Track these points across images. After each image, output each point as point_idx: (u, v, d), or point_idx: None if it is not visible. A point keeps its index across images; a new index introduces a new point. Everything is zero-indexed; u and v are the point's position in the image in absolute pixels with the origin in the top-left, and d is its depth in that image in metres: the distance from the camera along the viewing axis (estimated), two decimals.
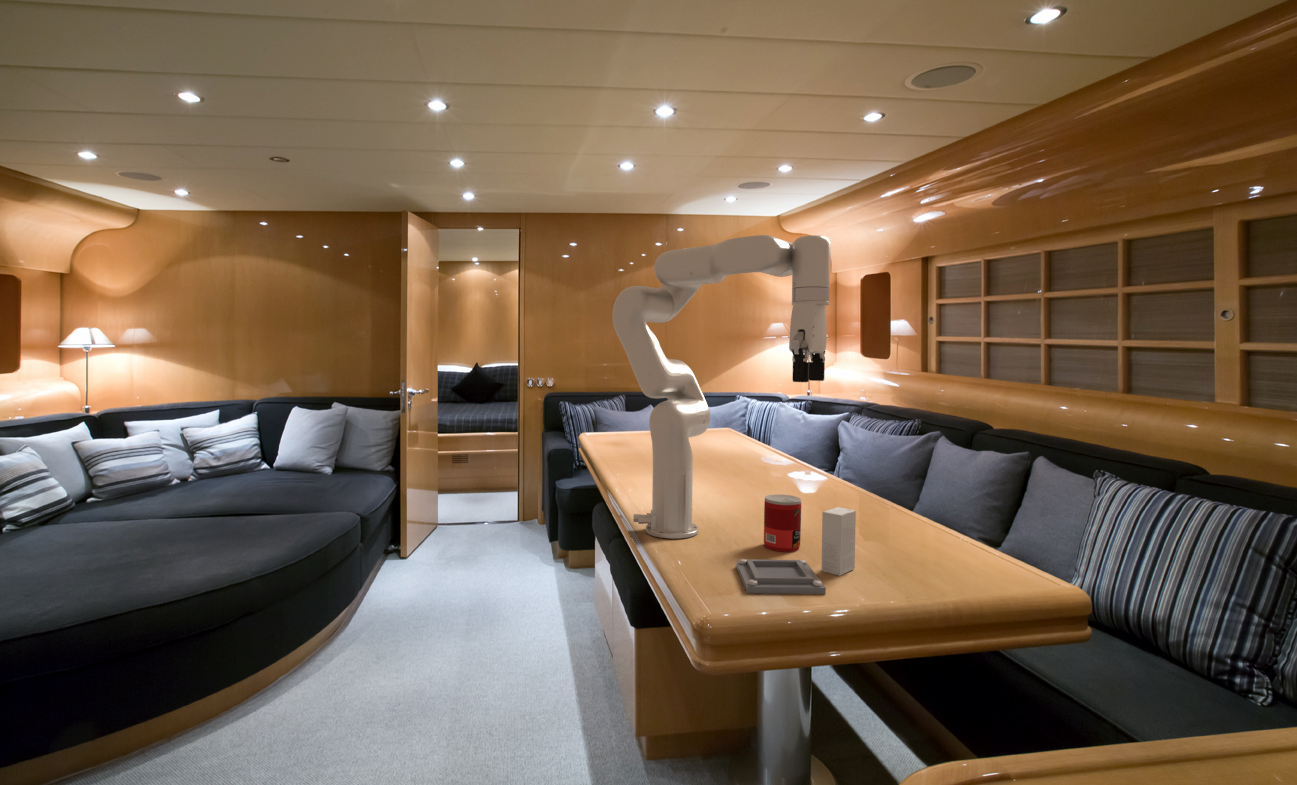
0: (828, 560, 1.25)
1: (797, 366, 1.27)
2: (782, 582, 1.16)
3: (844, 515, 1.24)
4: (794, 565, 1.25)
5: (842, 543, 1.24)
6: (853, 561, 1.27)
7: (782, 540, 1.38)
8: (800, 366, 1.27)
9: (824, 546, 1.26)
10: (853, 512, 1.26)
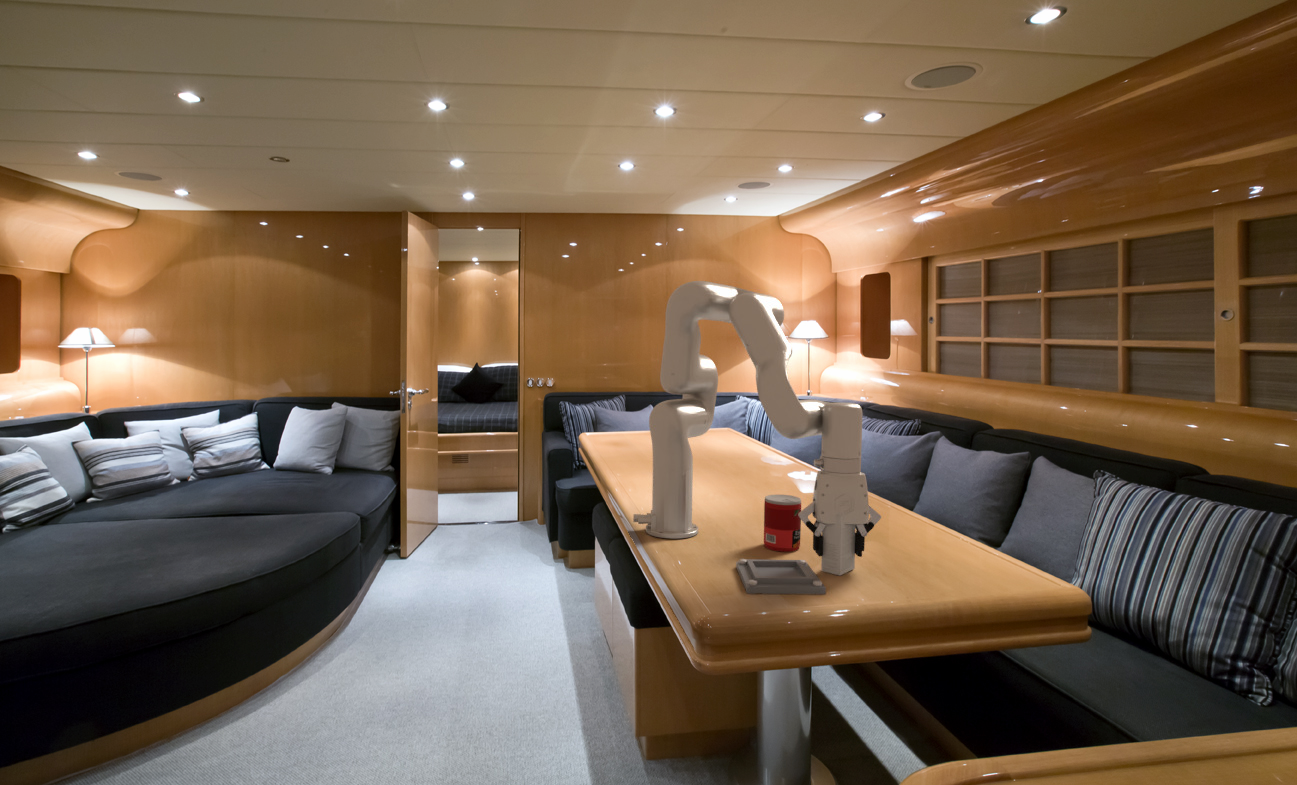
0: (828, 559, 1.25)
1: None
2: (782, 582, 1.16)
3: None
4: (794, 565, 1.25)
5: (842, 543, 1.24)
6: (853, 561, 1.27)
7: (782, 540, 1.38)
8: None
9: (824, 546, 1.26)
10: None
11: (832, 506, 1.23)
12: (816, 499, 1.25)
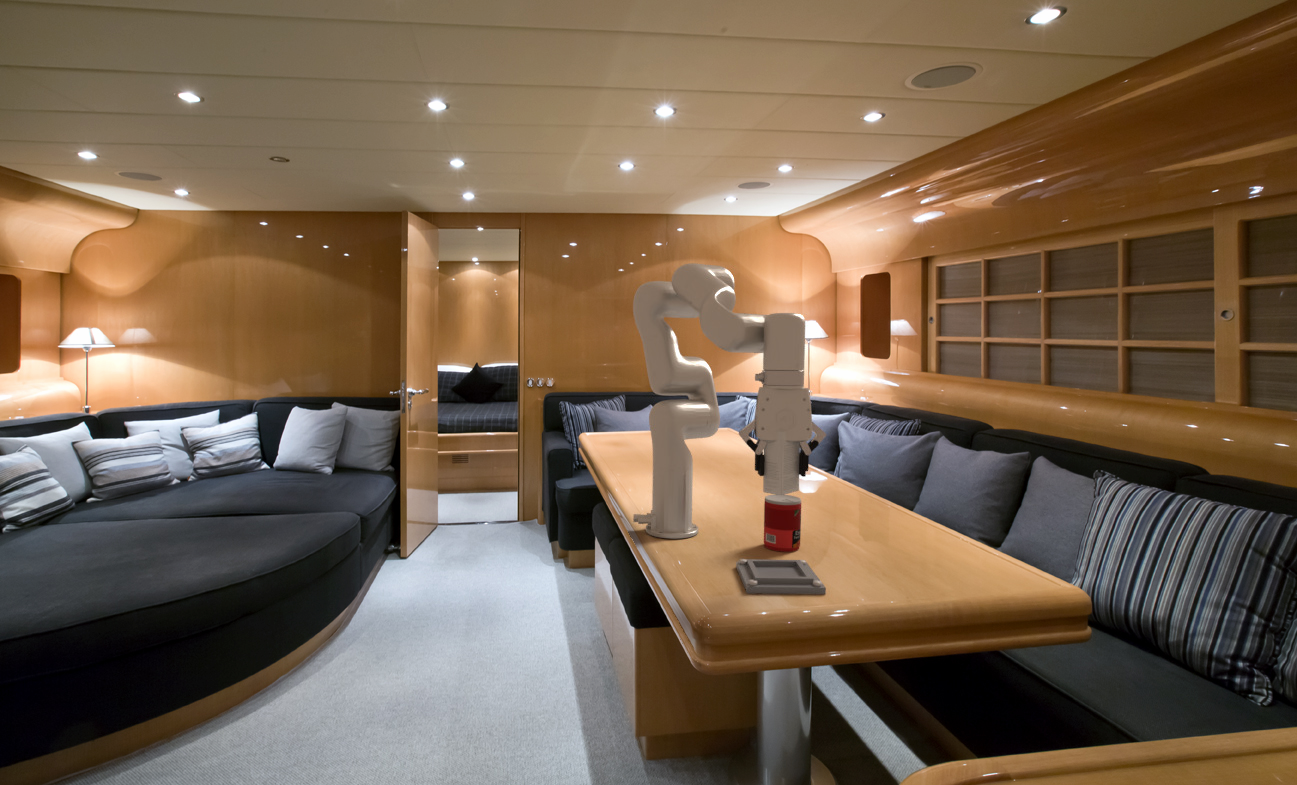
0: (770, 479, 1.18)
1: None
2: (782, 582, 1.16)
3: None
4: (794, 565, 1.25)
5: (783, 461, 1.17)
6: (797, 482, 1.20)
7: (782, 540, 1.38)
8: None
9: (766, 465, 1.19)
10: None
11: (773, 421, 1.16)
12: (757, 415, 1.18)
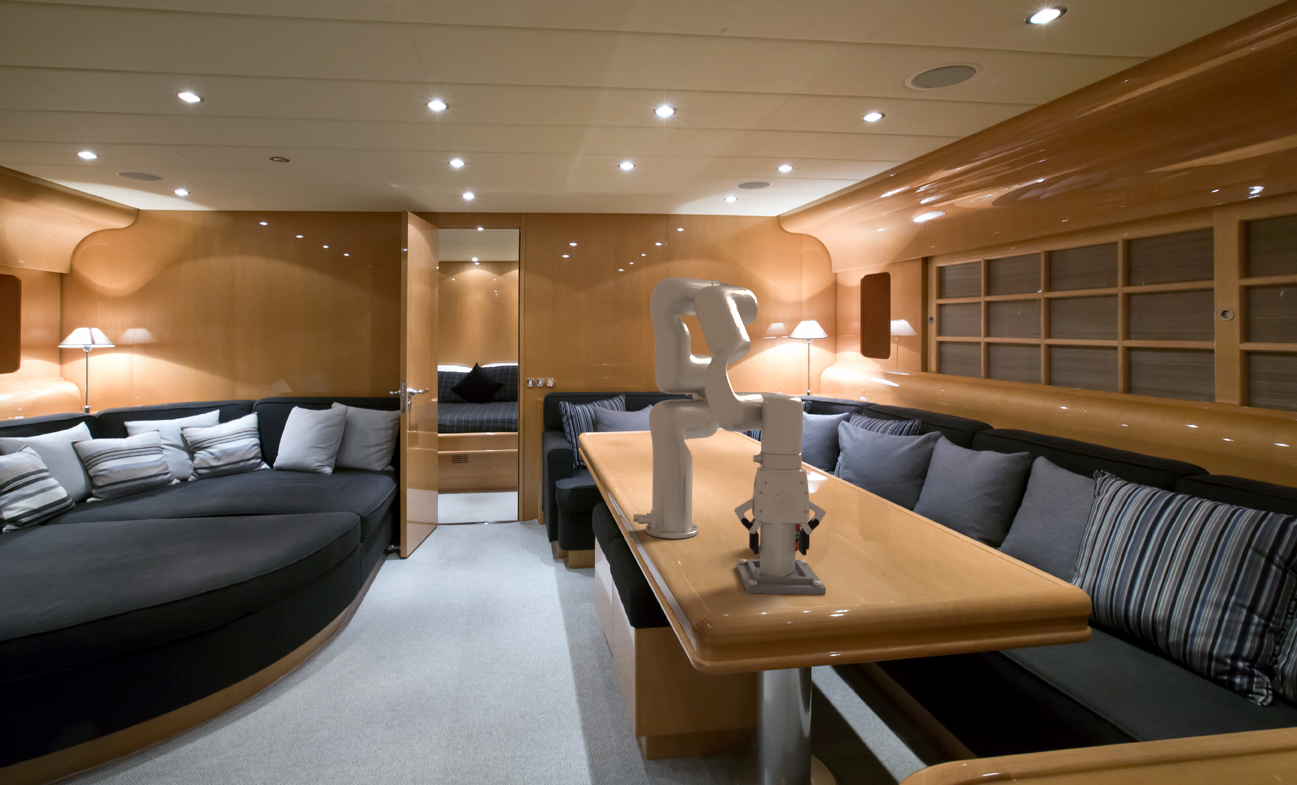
0: (766, 562, 1.19)
1: None
2: (782, 582, 1.16)
3: None
4: None
5: (780, 546, 1.18)
6: (793, 564, 1.21)
7: None
8: None
9: (762, 548, 1.20)
10: None
11: (771, 504, 1.17)
12: (754, 497, 1.19)
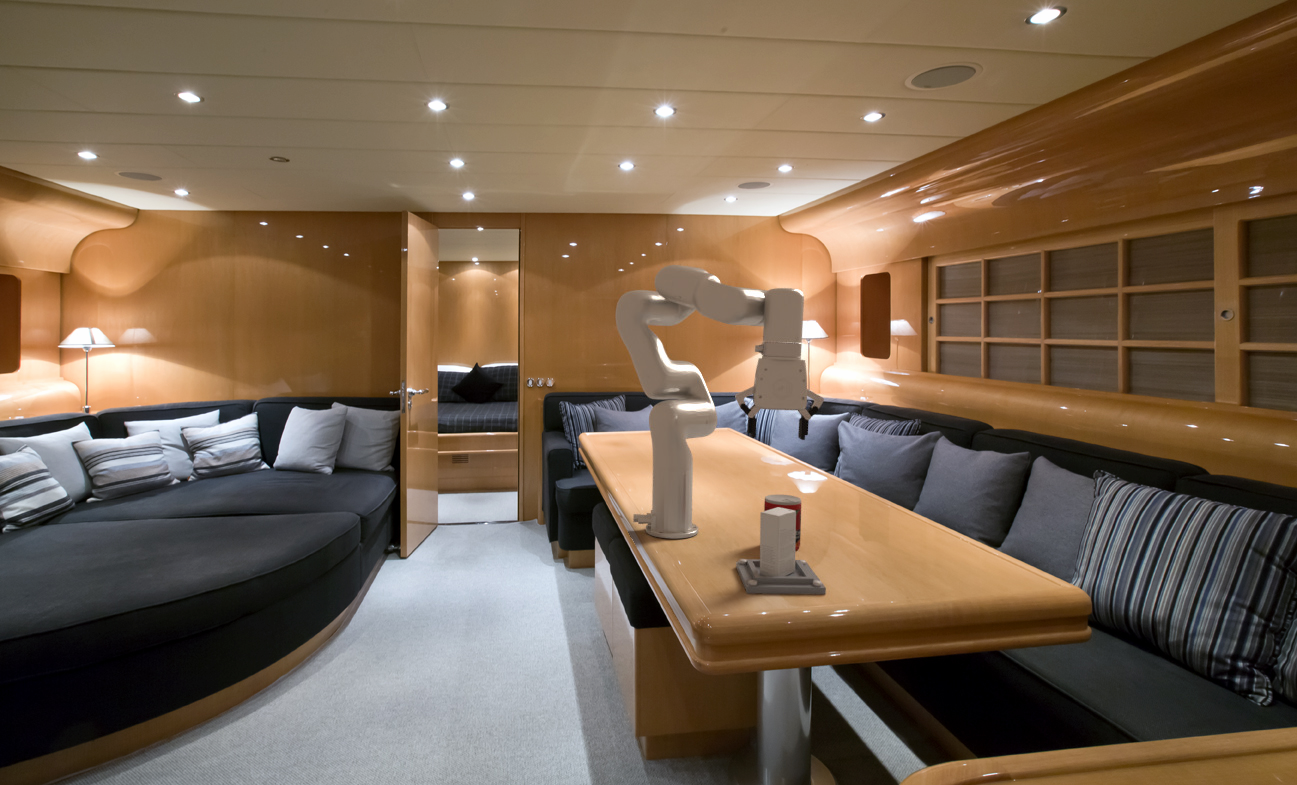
0: (766, 562, 1.19)
1: None
2: (782, 582, 1.16)
3: (782, 516, 1.18)
4: None
5: (780, 546, 1.18)
6: (793, 564, 1.21)
7: None
8: None
9: (762, 548, 1.20)
10: (793, 512, 1.20)
11: (770, 390, 1.24)
12: (755, 384, 1.25)
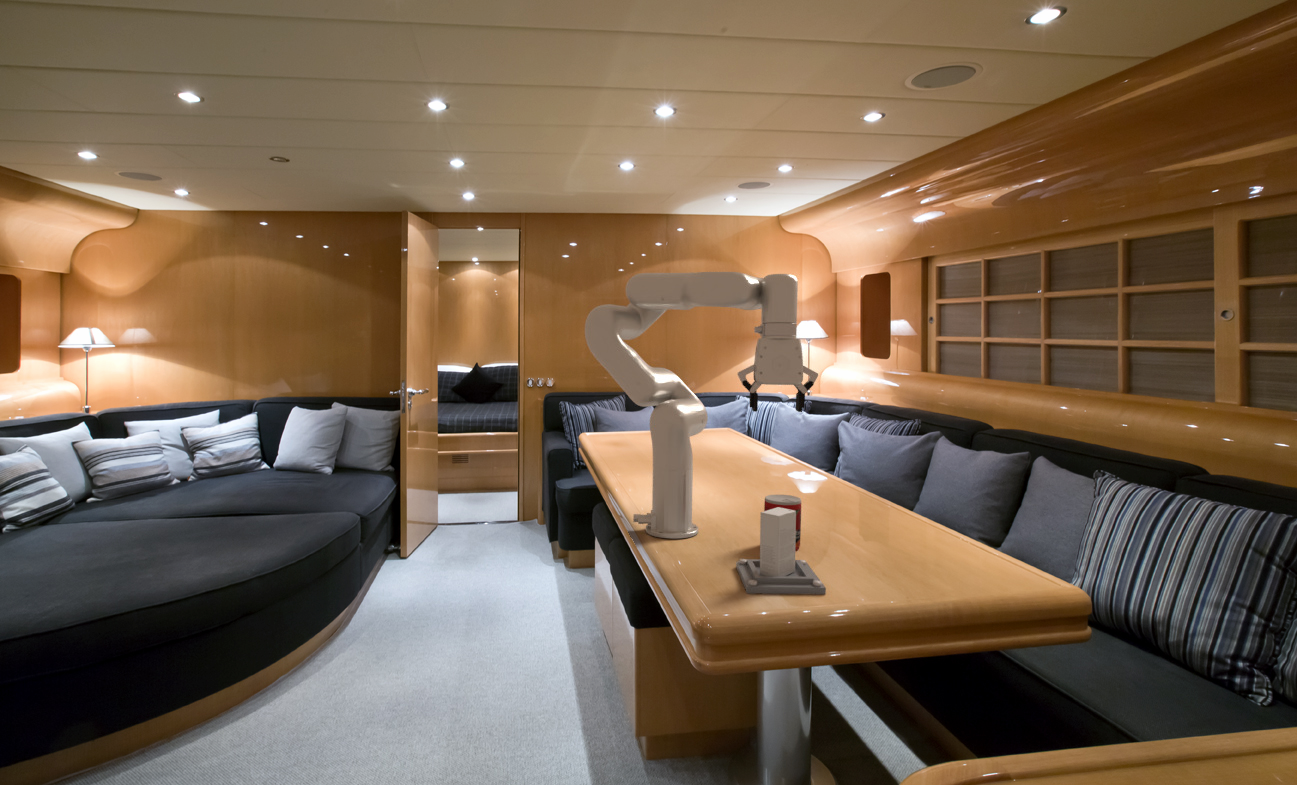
0: (766, 562, 1.19)
1: None
2: (782, 582, 1.16)
3: (782, 516, 1.18)
4: None
5: (780, 546, 1.18)
6: (793, 564, 1.21)
7: None
8: None
9: (762, 548, 1.20)
10: (793, 512, 1.20)
11: (770, 367, 1.36)
12: (756, 362, 1.37)
